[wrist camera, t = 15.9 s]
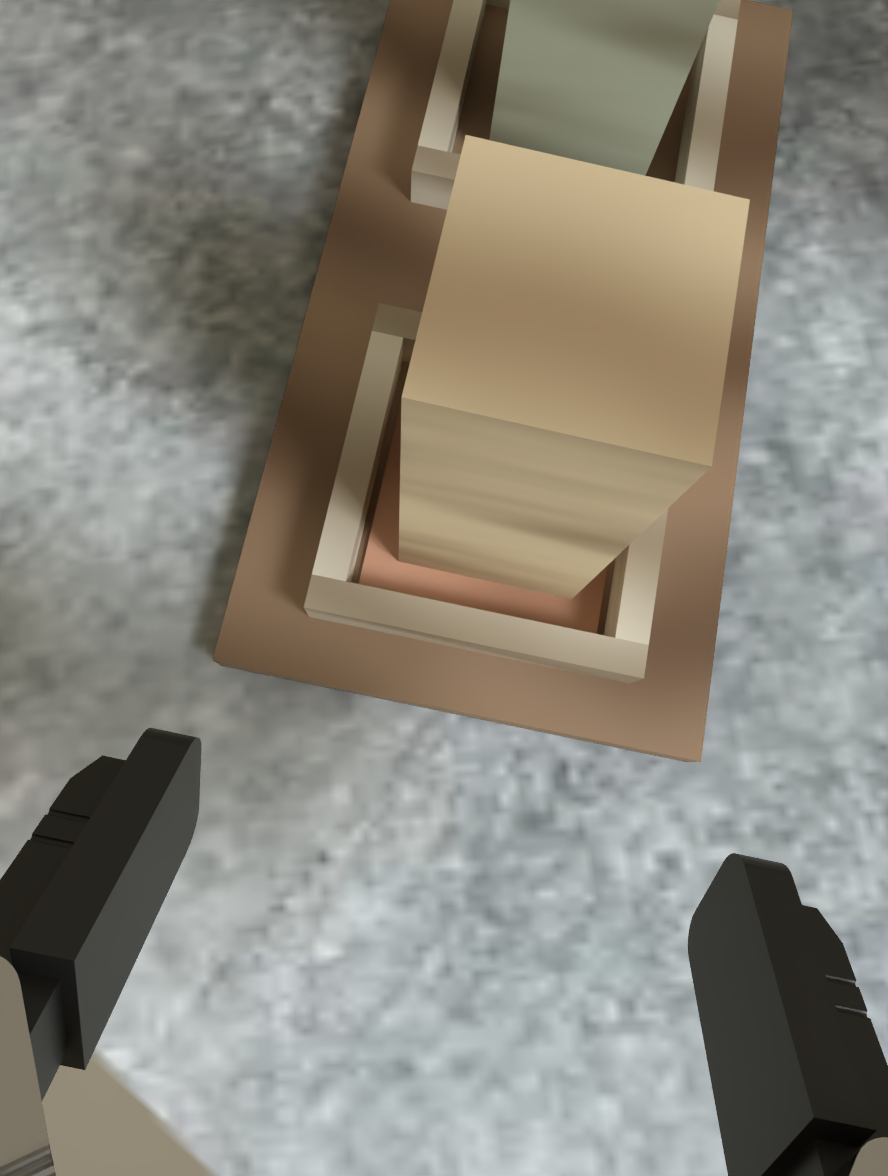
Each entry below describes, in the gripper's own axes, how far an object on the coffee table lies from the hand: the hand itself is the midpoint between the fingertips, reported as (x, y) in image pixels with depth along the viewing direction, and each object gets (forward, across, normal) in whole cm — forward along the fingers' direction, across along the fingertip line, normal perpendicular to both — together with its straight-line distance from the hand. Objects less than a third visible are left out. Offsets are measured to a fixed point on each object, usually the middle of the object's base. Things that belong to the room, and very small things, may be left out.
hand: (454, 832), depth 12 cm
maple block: (+10, 0, -1) cm, 10 cm away
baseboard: (+15, 0, -4) cm, 16 cm away
